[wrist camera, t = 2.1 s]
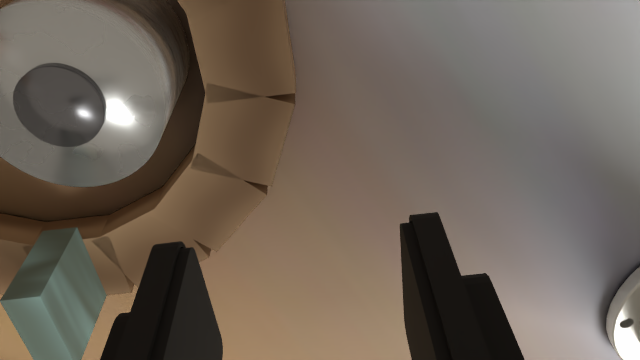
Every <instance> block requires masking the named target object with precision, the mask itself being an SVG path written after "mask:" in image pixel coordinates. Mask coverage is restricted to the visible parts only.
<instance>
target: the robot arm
mask: <svg viewBox="0 0 640 360" xmlns="http://www.w3.org/2000/svg"><path fill="white" fill-rule="evenodd" d="M400 240H401V261H402V282H403V303H404V321H405V329H406V335H407V340H408V344H409V349H410V353H411V358H412V360H524V357H523V355H522V353H521V350H520V348H519V346H518V343H517V341H516V339H515V336H514V334H513V331H512V329H511V327H510V324H509V322H508V320H507V317H506V315H505V313H504V310H503V308H502V305H501V303H500V301H499V298H498V296H497V294H496V291H495V289H494V287H493V284H492V282H491V280H490V278H489V276H488V275H487V274H486V273H484V274H474V275H465V276H461V274H460V271H459V269H458V266H457V263H456V260H455V258H454V255H453V252H452V249H451V247H450V244H449V241H448V238H447V236H446V233H445V230H444V227H443V225H442V222H441V219H440V216H439V214H438V213H437V212H435V213H426V214H417V215H410V217H409V223H402V224H400ZM606 330H607V334H608V337H609V341H610V343H611V344H612V346H613V347H614V349H615V351H616V353H617V354H618V356H619V357H620V358H621V359H622V360H640V267H639V268H638V269H636V270H635V271H634V272H633V273H632V274H631V275H630V276H629V277H628V278H627V280H626V281H625V282H624V283H623V285H622V286H621V287H620V288H619V290H618V291H617V293H616V295H615V297H614V299H613V300H612V302H611V304H610V307H609V311H608V314H607V321H606ZM222 355H223V345H222V338H221V334H220V331H219V328H218V324H217V321H216V318H215V315H214V311H213V308H212V305H211V301H210V298H209V295H208V291H207V288H206V285H205V281H204V278H203V275H202V271H201V268H200V265H199V261H198V258H197V255H196V252H195V249H194V248H193V247H190V248H186V246H185V244H184V243H183V242H182V241H179V242H170V243H162V244H155V245H153V247H152V249H151V252H150V255H149V258H148V261H147V264H146V267H145V270H144V273H143V276H142V279H141V282H140V285H139V288H138V291H137V294H136V297H135V300H134V303H133V306H132V309H131V312H129V313H120V314H119V315H118V316H117V317H116V319H115V321H114V323H113V326H112V328H111V331H110V334H109V337H108V339H107V342H106V345H105V348H104V350H103V353H102V356H101V359H100V360H222Z"/></svg>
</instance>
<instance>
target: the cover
mask: <svg viewBox="0 0 640 360" xmlns="http://www.w3.org/2000/svg"><path fill="white" fill-rule="evenodd" d="M189 62H190V55H189V46H188V40H187V37H186V34H185V30H184V28H183V26H182V24H181V22H180V19H179V18H178V16H177V14H176V13H175V11H174V10H173V8H172V7H171V6H170V5H169V3H168V2H167V1H166V0H13V1H12V2H10V3H8V4H7V5H5V6H4V7H2V8H0V157H2V158H3V159H4V160H6V161H7V162H8V163H10V164H11V165H13V166H15V167H16V168H18V169H20V170H21V171H23V172H25V173H27V174H29V175H31V176H34V177H36V178H39V179H42V180H44V181H47V182H51V183H55V184H59V185H65V186H73V187H93V186H100V185H106V184H110V183H113V182H116V181H119V180H121V179H123V178H126V177H128V176H129V175H131V174H133V173H134V172H136V171H137V170H138V169H139V168H141V167H142V166H143V165H144V164H145V163H146V162H147V161H148V160H149V158H150V157H151V156H152V155H153V153H154V151H155V150H156V148H157V146H158V144H159V142H160V139H161V137H162V135H163V132H164V130H165V128H166V125H167V123H168V121H169V118H170V116H171V114H172V112H173V109H174V107H175V105H176V102H177V100H178V98H179V95H180V93H181V91H182V89H183V86H184V84H185V81H186V79H187V75H188V71H189Z"/></svg>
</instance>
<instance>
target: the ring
mask: <svg viewBox="0 0 640 360" xmlns="http://www.w3.org/2000/svg"><path fill="white" fill-rule="evenodd" d="M177 1H178V2H179V4H180V5H181V7H182V8H183V9H184V11H185V12H186V14H187V19H188V23H189V27H190V31H191V35H192V39H193V43H194V48H195V52H196V56H197V60H198V64H199V68H200V72H201V77H202V81H203V85H204V89H205V98H204V104H203V109H202V114H201V119H200V124H199V130H198V135H197V140H196V144H195V145H194V147H193V148H192V149H191V151H190V152H189V153H188V155H187V156H186V157H185V159H184V160H183V161H182V162H181V164H180V165H179V166H178V168H177V169H176V170H175V172H174V173H173V174H172V176H171V177H170V178H169V179H168V181H167V182H166V183H165V185H164V186H163V187H162V188H160V189H158V190H156V191H154V192H152V193H150V194H149V195H147V196H145V197H143V198H141V199H139V200H137V201H135V202H133V203H131V204H129V205H127V206H126V207H124V208H122V209H120V210H118V211H116V212H114V213H112V214H110V215H103V216H94V217H86V218H77V219H68V220H60V221H51V222H43V221H38V220H32V219H27V218H22V217H17V216H12V215H6V214H1V213H0V295H3V297H2V298H1V300H0V302H1V304H2V306H3V307H4V309H5V311H6V312H7V314H8V316H9V318H10V319H11V321H12V323H13V325H14V326H15V328H16V330H17V332H18V333H19V335H20V337H21V338H22V340H23V342H24V344H25V345H26V347H27V349H28V351H29V352H30V354H31V356H32V357H33V359H34V360H81V359H82V356H83V354H84V351H85V349H86V346H87V344H88V341H89V339H90V336H91V334H92V331H93V328H94V326H95V323H96V321H97V318H98V316H99V313H100V311H101V308H102V306H103V303H104V301H105V298H106V296H107V295H114V294H123V293H131V292H132V289H133V286H134V284H135V285H136V286H137V287H138V288H139V285H140V282H141V279H142V276H143V273H144V270H145V267H146V264H147V261H148V258H149V255H150V252H151V249H152V247H153V245H155V244H162V243H170V242H179V241H182V242H183V243H184V244H185V246H186V248H190V247H193V248H194V249H195V252H196V255H197V258H198V261H199V262H200V261H203V260H205V259H207V258H209V256H210V251H211V249H212V250H214V251H216V252H217V251H218V250H219V249H220V247H221V246H222V245H223V244H224V243H225V242H226V241H227V239H228V238H229V237H230V236H231V235H232V234H233V233H234V232H235V230H236V229H237V228H238V227H239V226H240V225H241V224H242V222H243V221H244V220H245V219H246V218H247V217H248V216H249V215H250V213H251V212H252V211H253V210H254V209H255V208H256V207H257V205H258V204H259V203H260V202H261V201H262V200H263V199H264V198H265V196H266V195H267V187H268V186H272V183H273V180H274V176H275V173H276V169H277V166H278V162H279V159H280V155H281V152H282V148H283V145H284V141H285V138H286V134H287V131H288V127H289V124H290V120H291V117H292V113H293V110H294V106H295V93H296V74H295V67H294V60H293V53H292V46H291V40H290V33H289V26H288V19H287V12H286V5H285V0H177Z"/></svg>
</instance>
